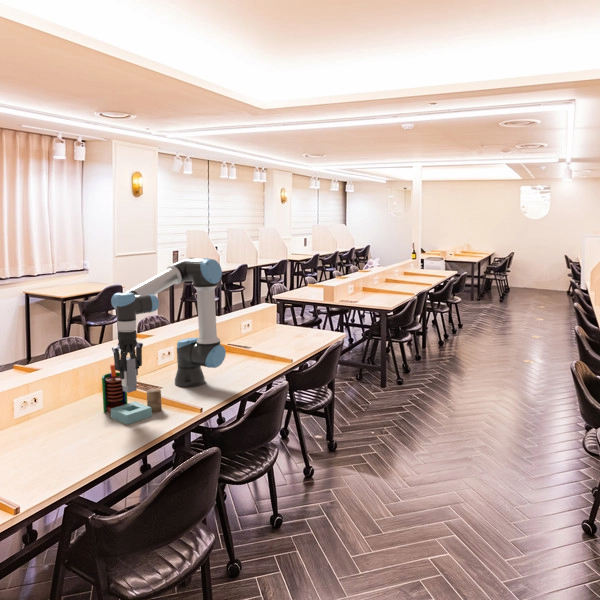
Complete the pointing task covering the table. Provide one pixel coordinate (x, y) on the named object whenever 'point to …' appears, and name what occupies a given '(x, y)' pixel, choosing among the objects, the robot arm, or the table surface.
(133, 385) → the square bit
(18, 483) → the table surface
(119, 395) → the motor
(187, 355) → the robot arm
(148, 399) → the round dowel
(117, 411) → the socket block
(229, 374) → the table surface
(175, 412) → the table surface
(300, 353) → the table surface
